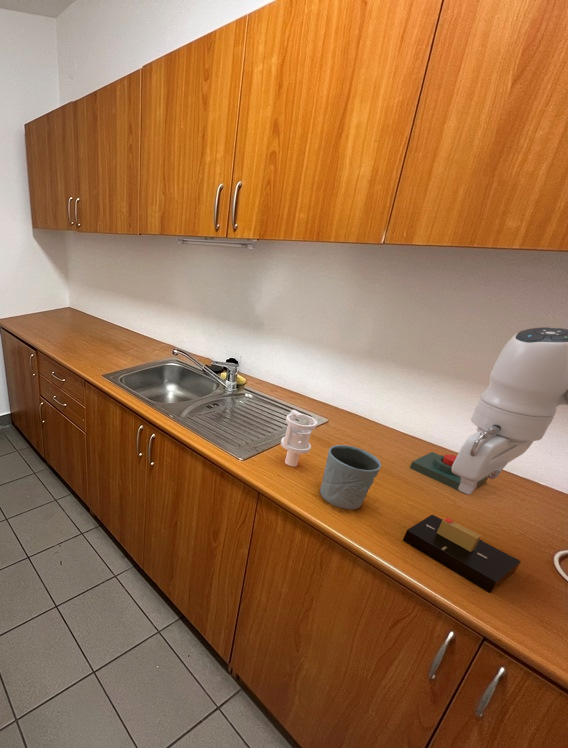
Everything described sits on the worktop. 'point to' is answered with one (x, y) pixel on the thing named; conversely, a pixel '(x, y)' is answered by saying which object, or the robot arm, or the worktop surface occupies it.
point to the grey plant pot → (348, 476)
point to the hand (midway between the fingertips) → (477, 483)
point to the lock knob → (458, 534)
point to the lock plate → (462, 555)
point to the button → (449, 459)
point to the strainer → (297, 437)
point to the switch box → (439, 470)
